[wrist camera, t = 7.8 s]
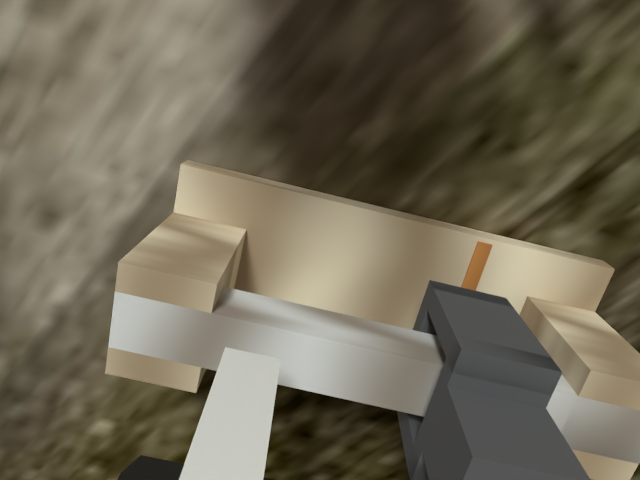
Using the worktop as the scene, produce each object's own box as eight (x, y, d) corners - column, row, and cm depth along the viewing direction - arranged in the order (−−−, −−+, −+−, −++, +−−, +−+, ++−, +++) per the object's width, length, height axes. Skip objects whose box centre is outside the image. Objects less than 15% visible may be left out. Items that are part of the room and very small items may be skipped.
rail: (161, 328, 23) (96, 427, 17) (187, 160, 21) (122, 201, 14) (533, 411, 24) (605, 535, 18) (602, 260, 22) (715, 341, 15)
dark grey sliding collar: (392, 388, 20) (425, 567, 13) (429, 280, 19) (490, 414, 11) (463, 404, 20) (535, 589, 13) (506, 298, 19) (615, 441, 12)
